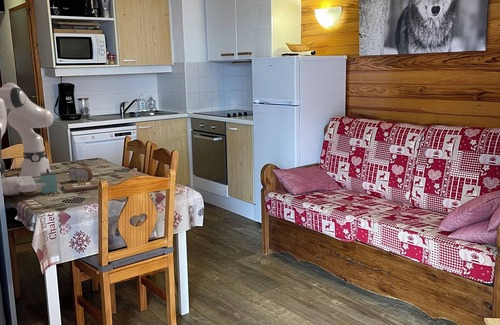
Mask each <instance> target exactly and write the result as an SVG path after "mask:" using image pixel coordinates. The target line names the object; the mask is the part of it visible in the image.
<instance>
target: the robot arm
mask: <svg viewBox="0 0 500 325" xmlns="http://www.w3.org/2000/svg"><path fill="white" fill-rule="evenodd" d="M8 109H10V111H9V112H8V115H7V110H8ZM7 122H8V123H7ZM53 122H54V115H53V113H52V112H51V110H49V109H46V108H43V107H41V106H39V105H38V104H36V103H34V102H32V101H31V100H30V99H29V97H28V96H27V95H26V93H25V92H24V90H23V89H21V87H19V86H18V85H17V84H16V83H14V82H7V83H4V84H3V85H2V86H1V87H0V172H1V179H2V186H3V194H4V195H3V196H13V195H20V193H29V192H35V191H37V189H38V188H41V187H42V186H45V182H41V178H37V177H40V173H42V172H46V169H49V172H51V171H53V170H51V168H50V161H49V159H48V158H47V157H46V150H45V146H44V138H43V137H42V136H41V134H38V133H37V132H35V131H34V129H42V128H47V127H50V126H52V125H53ZM7 124H9V125H10V127H11V128H13V129H15V130H16V132H18V135H19V136H20V138H21V143H22V147H23V148H22V149H23V154H22V156H23V160H22V161H21V163H20V168H21V171H20V173H19V175H18V176H17V175H13V176H8V177H5V176H4V175H5V172H6V164H5V161H4V160H3V157H2V138H3V135H4V134H5V133H6V129H7V126H8V125H7Z"/></svg>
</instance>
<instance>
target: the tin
mask: <svg viewBox="0 0 500 325" xmlns="http://www.w3.org/2000/svg"><path fill="white" fill-rule="evenodd" d="M67 172H68V178H69V179H70V180H71V181H73V182H78V181H77V179H79V181H80V178H82V181H83V178H85V181H92V180H93V177H94V175H93V172H92V170H91V168H89V167H87V166H79V165H73V166H71V167H70V168H69V169H68V171H67ZM80 182H81V181H80ZM83 182H84V181H83Z"/></svg>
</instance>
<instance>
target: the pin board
mask: <svg viewBox="0 0 500 325" xmlns="http://www.w3.org/2000/svg"><path fill="white" fill-rule="evenodd" d="M80 181H81V182H80ZM80 181H79V179H77V181H76V182H70V183H62V184H61V187H62V189H63V190H64V192H65V193H66V194H68V193H76V192H85V191H91V190H99V189H98V182H99V181H98V180H90V181H85V178H83V181H84V182H83V181H82V178H80Z"/></svg>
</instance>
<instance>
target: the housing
mask: <svg viewBox="0 0 500 325" xmlns="http://www.w3.org/2000/svg"><path fill="white" fill-rule="evenodd" d="M39 177H40V178H39V179H41V182H45V186H42V187H40V188H41V193H42V194H43V195H44V194H53V193H58V182H57V172H56V171H54V170H52V171H51V172H49V169H46V172H42V173H40V176H39Z"/></svg>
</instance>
